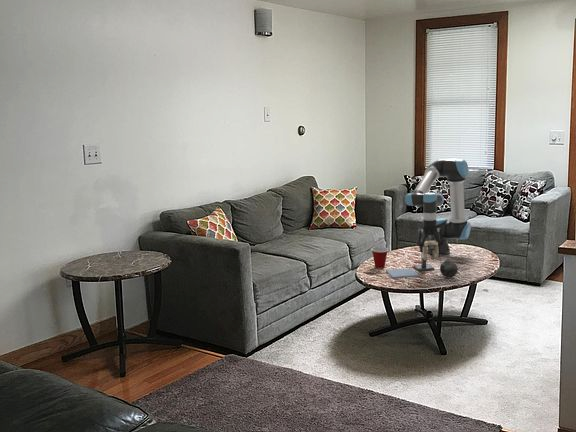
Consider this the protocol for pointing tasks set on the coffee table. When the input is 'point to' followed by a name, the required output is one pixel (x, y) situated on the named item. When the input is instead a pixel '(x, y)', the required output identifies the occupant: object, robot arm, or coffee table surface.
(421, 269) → the stand
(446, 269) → the decorative stone
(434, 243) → the wooden u-bracket
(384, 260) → the plastic cup
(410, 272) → the mat
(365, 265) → the coffee table surface
